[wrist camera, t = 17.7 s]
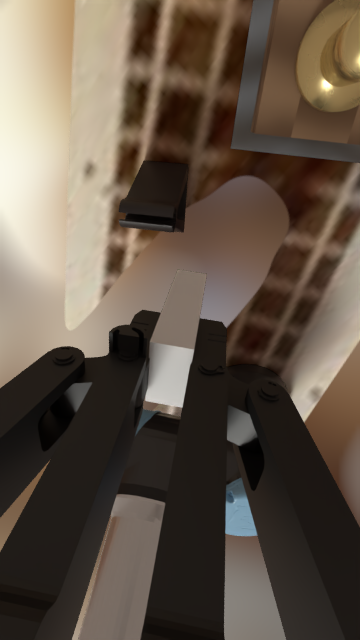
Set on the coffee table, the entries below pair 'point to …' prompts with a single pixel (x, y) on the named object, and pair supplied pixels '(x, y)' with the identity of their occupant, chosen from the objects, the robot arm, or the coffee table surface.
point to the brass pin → (331, 59)
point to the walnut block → (287, 91)
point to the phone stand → (157, 198)
